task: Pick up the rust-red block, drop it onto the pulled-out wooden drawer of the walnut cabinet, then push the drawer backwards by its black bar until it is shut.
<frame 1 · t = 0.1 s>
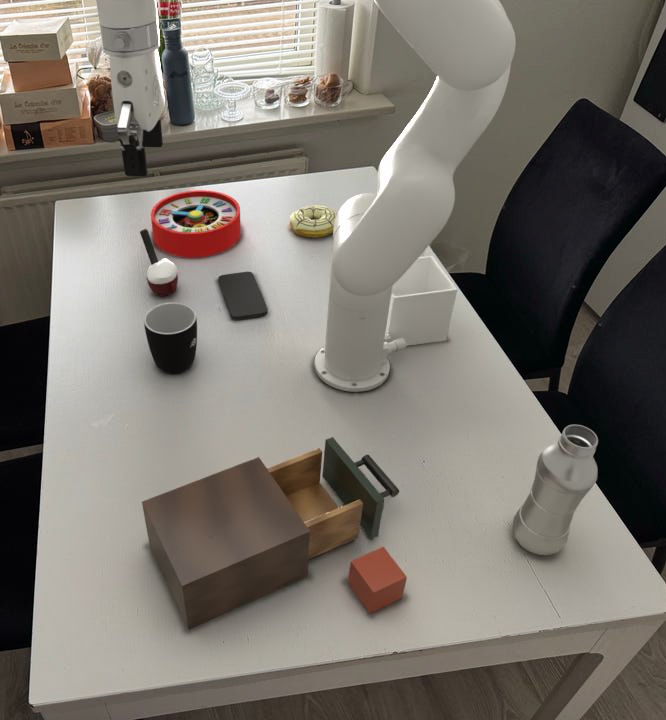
hand: (144, 160, 101), 37 cm above the table, tool pointing down, fingers open, 9 cm apart
cocoa: (163, 290, 141), on the table
decorated donut: (313, 229, 155), on the table
wooden drawer: (320, 499, 92), point 5 cm above the table, slide at 10.0 cm
toy clock: (196, 234, 157), on the table
silver metal bottle: (534, 541, 91), on the table
block: (374, 590, 87), on the table
mug: (175, 358, 124), on the table
cabinet: (226, 561, 91), on the table
storage container: (391, 304, 132), on the table
phone: (242, 297, 137), on the table
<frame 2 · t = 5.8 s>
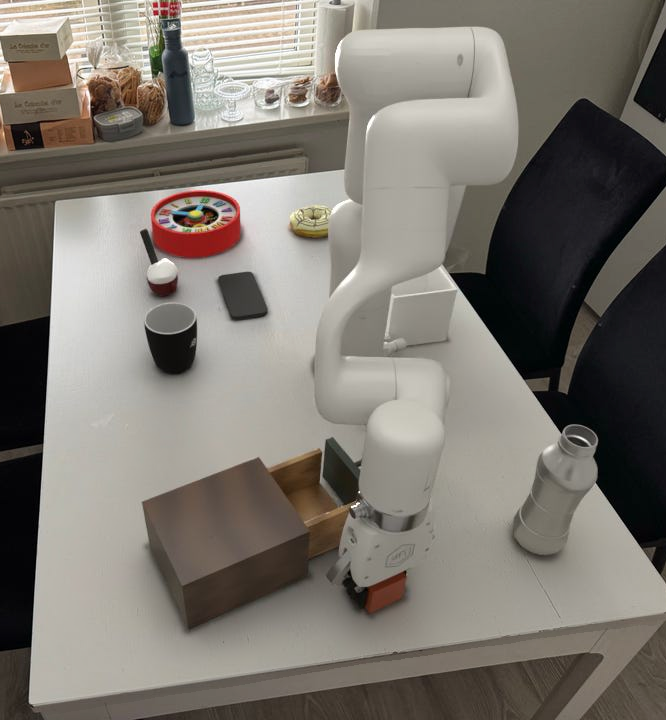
hand: (374, 588, 86), 0 cm above the table, tool pointing down, fingers closed on block, 4 cm apart
block: (374, 590, 87), on the table, touching gripper
everything else where it was.
when the fingers open (6 cm above the table, at t = 10.9 s): block drops 4 cm, resting on wooden drawer.
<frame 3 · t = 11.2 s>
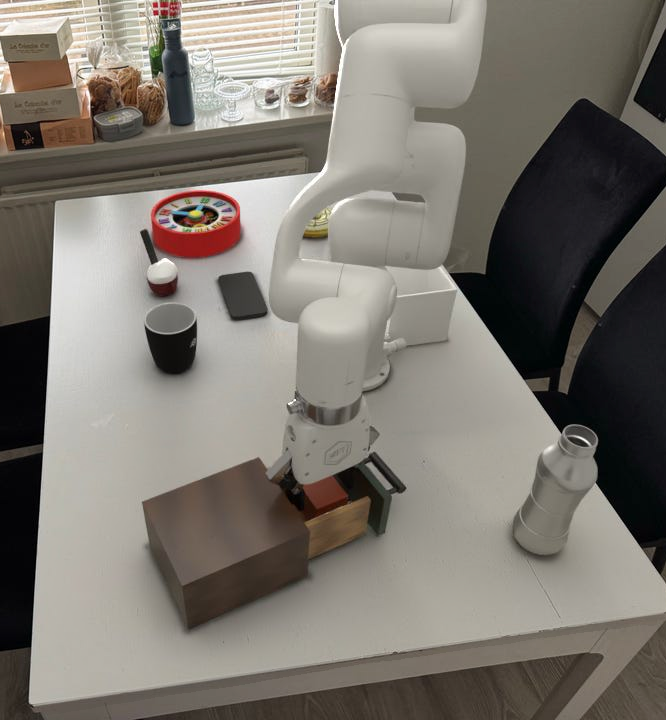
hand: (320, 491, 91), 6 cm above the table, tool pointing down, fingers open, 7 cm apart
wooden drawer: (327, 496, 92), point 5 cm above the table, slide at 11.1 cm, touching block, gripper
block: (320, 511, 94), point 2 cm above the table, touching wooden drawer
everything else where it was.
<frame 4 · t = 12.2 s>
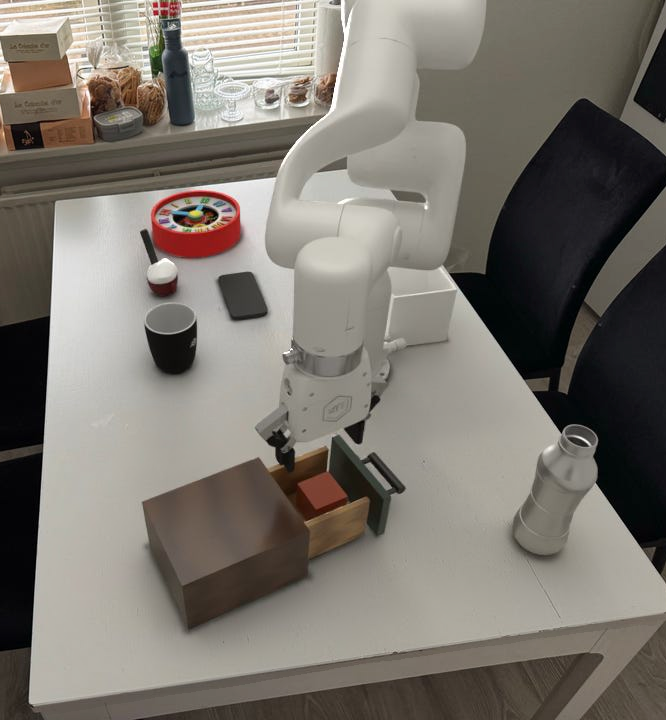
hand: (319, 450, 86), 15 cm above the table, tool pointing down, fingers open, 9 cm apart
wooden drawer: (326, 497, 92), point 5 cm above the table, slide at 11.0 cm, touching block
everything else where it was.
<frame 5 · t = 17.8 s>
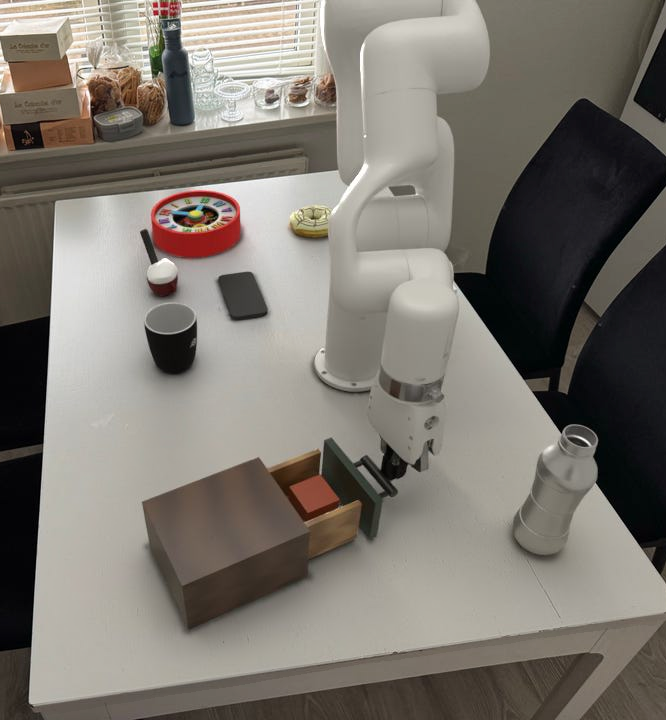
hand: (392, 474, 95), 4 cm above the table, tool pointing down, fingers closed
wooden drawer: (318, 500, 92), point 5 cm above the table, slide at 9.8 cm, touching block, gripper
block: (312, 515, 93), point 2 cm above the table, touching wooden drawer
everything else where it was.
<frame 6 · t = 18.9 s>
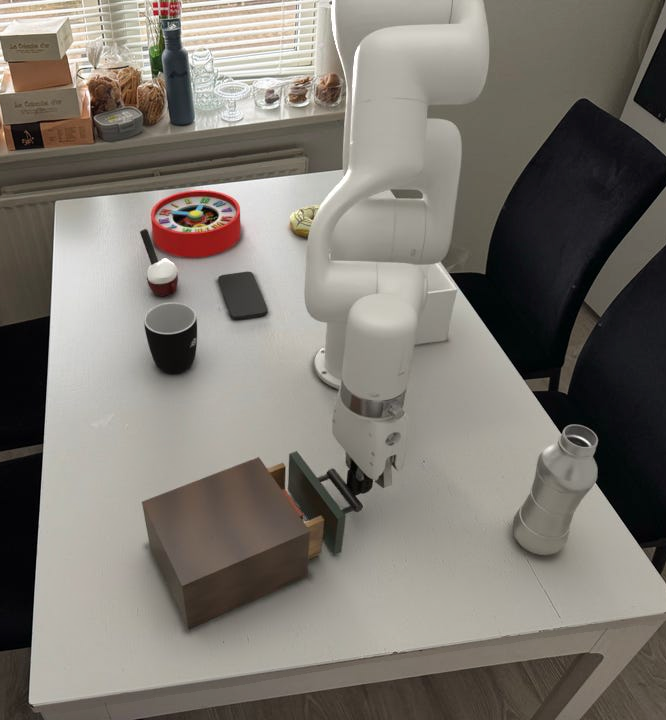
hand: (358, 488, 94), 4 cm above the table, tool pointing down, fingers closed
wooden drawer: (282, 515, 90), point 5 cm above the table, slide at 4.3 cm, touching block, gripper
block: (276, 530, 92), point 2 cm above the table, touching wooden drawer
everything else where it was.
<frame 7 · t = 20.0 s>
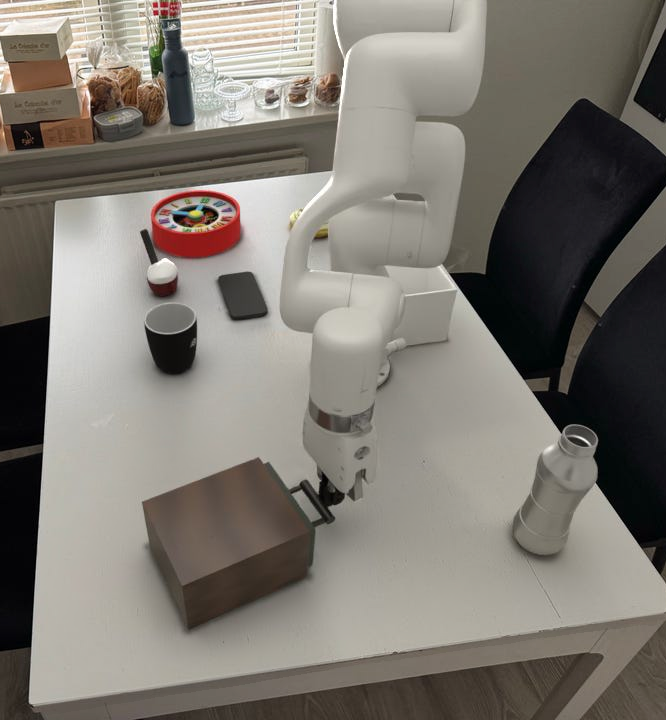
hand: (331, 499, 93), 4 cm above the table, tool pointing down, fingers closed
wooden drawer: (253, 527, 89), point 5 cm above the table, slide at 0.0 cm, touching block, cabinet, gripper
block: (248, 542, 91), point 2 cm above the table, touching wooden drawer
everything else where it was.
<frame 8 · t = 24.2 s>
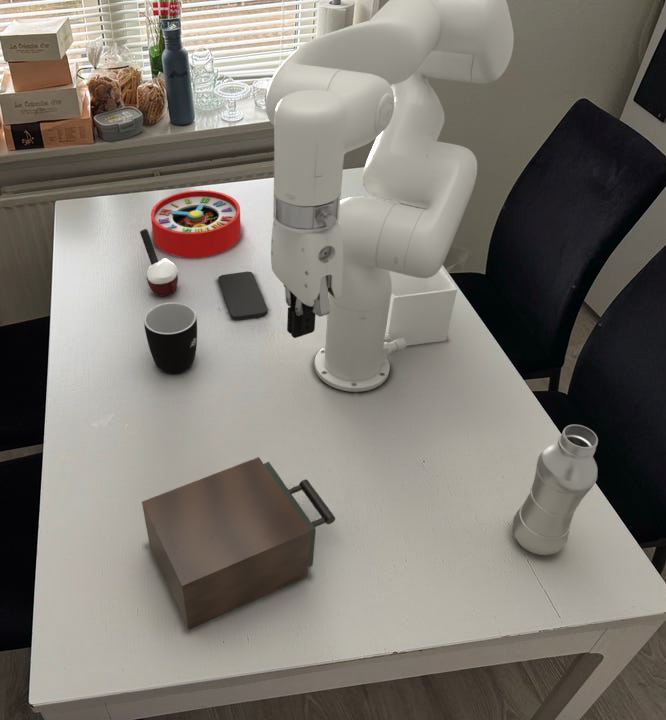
hand: (300, 331, 90), 23 cm above the table, tool pointing down, fingers closed
wooden drawer: (253, 527, 89), point 5 cm above the table, slide at 0.0 cm, touching block, cabinet
everything else where it was.
at the end: block inside the target area in the cabinet (3.3 cm from its centre), point 2.1 cm above the cabinet's base; wooden drawer slide at 0.0 cm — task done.
